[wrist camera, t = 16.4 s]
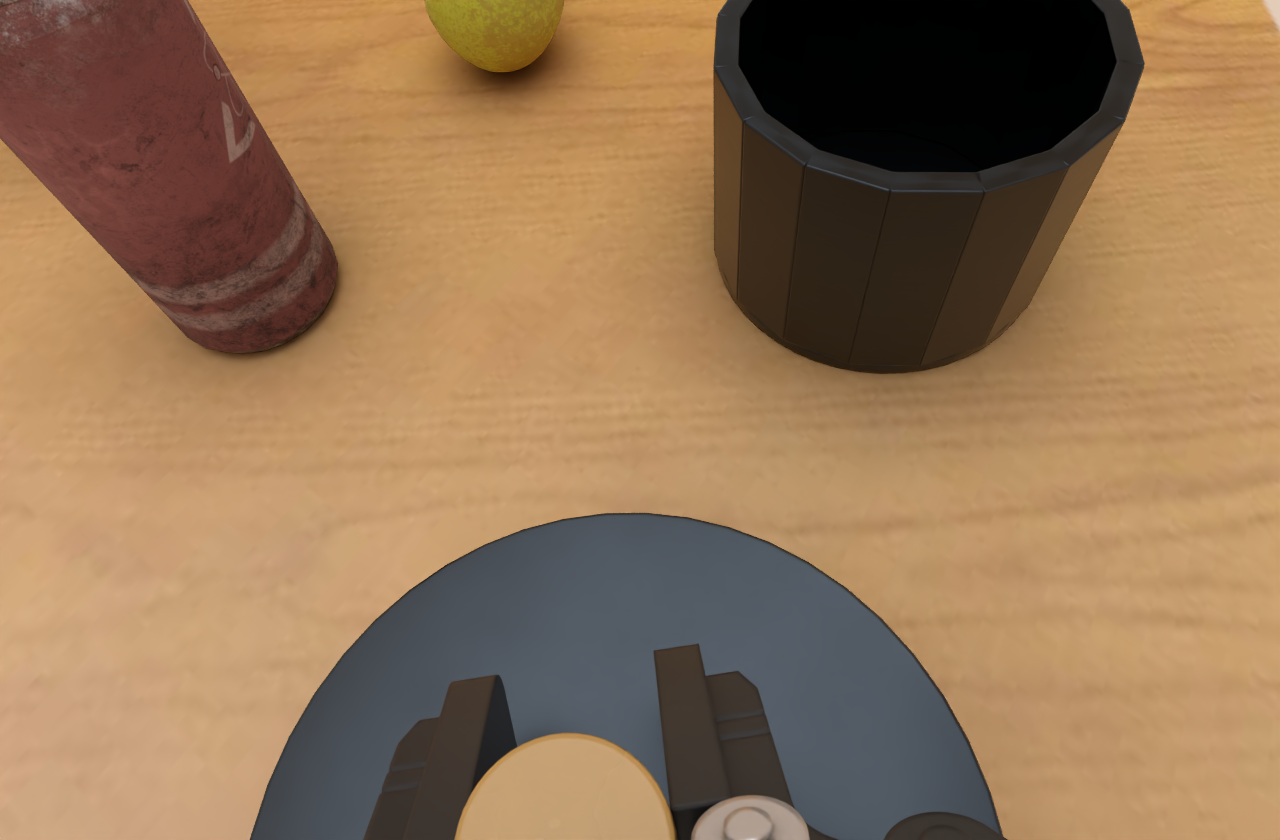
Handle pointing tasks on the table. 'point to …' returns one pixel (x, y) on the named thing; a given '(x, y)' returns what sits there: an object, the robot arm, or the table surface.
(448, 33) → the fruit
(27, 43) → the can
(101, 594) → the table surface
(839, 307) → the tin
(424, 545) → the table surface
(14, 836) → the table surface
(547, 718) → the lid
